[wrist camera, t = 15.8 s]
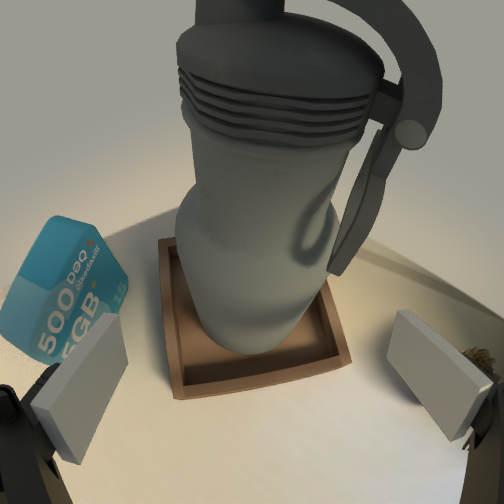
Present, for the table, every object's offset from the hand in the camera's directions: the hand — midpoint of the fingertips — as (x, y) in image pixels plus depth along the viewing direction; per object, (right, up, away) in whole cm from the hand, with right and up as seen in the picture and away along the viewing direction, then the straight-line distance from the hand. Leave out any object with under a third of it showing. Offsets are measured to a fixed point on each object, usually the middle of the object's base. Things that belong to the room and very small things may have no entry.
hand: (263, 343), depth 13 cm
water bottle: (-1, -2, +17) cm, 17 cm away
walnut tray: (-1, -2, +17) cm, 17 cm away
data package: (-18, -4, +16) cm, 24 cm away
